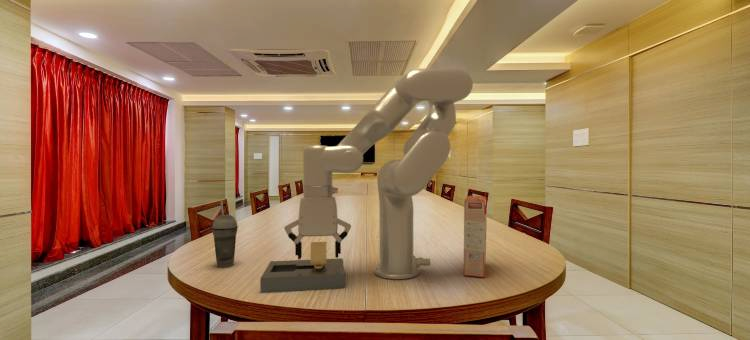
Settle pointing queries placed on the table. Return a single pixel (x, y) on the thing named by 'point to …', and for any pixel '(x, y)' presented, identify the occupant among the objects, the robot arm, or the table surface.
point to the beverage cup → (224, 239)
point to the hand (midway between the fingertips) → (318, 257)
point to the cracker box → (475, 236)
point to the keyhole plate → (302, 276)
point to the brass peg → (318, 254)
